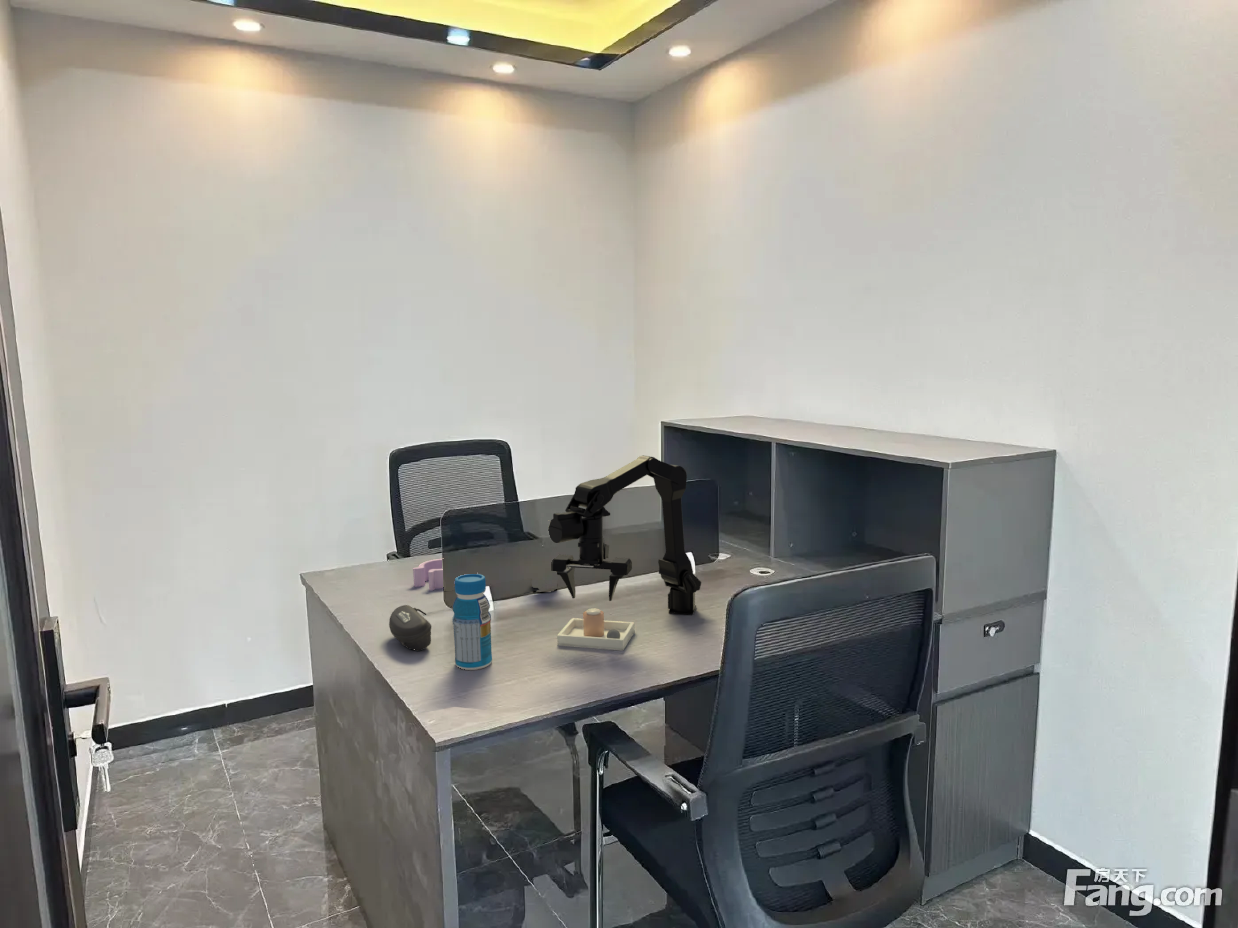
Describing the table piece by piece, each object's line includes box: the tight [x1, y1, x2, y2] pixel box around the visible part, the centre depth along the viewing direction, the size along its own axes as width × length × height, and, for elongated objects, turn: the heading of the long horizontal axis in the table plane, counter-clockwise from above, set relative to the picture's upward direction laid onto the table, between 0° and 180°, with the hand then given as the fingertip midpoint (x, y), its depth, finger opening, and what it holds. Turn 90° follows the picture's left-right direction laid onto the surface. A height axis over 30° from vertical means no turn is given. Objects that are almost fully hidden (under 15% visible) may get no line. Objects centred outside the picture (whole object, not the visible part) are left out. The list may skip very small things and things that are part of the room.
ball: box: [607, 629, 620, 639], centre depth 185 cm, size 3×3×3 cm
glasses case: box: [388, 604, 433, 651], centre depth 188 cm, size 18×10×8 cm, turn 31°
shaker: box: [582, 607, 605, 637], centre depth 190 cm, size 5×5×6 cm
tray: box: [556, 617, 635, 651], centre depth 189 cm, size 16×12×2 cm
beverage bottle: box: [451, 573, 493, 671], centre depth 174 cm, size 8×8×20 cm
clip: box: [412, 558, 444, 591], centre depth 234 cm, size 20×12×7 cm, turn 145°
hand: (592, 599), depth 189 cm, fingers open, 9 cm apart
